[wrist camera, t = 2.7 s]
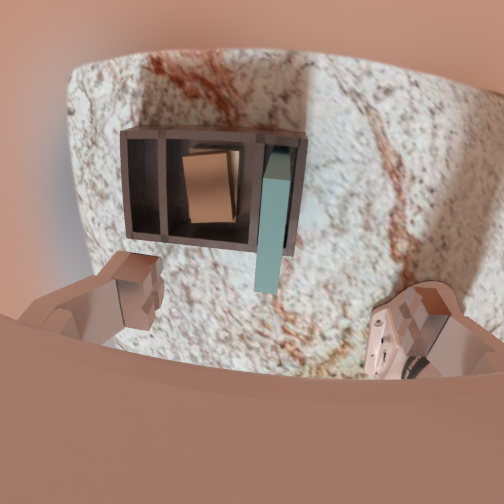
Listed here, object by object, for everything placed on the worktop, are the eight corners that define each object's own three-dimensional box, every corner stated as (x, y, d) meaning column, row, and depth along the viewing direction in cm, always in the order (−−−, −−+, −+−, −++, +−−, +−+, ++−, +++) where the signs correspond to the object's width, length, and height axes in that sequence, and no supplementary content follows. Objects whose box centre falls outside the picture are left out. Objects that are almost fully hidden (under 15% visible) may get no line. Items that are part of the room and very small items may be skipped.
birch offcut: (238, 215, 42) (235, 222, 39) (194, 211, 42) (188, 218, 40) (242, 148, 37) (239, 151, 35) (195, 145, 38) (189, 148, 36)
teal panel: (281, 223, 42) (276, 293, 27) (266, 222, 42) (253, 291, 28) (289, 148, 37) (290, 180, 23) (273, 146, 37) (263, 177, 23)
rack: (293, 234, 44) (293, 256, 38) (142, 219, 45) (123, 237, 39) (305, 133, 37) (308, 139, 31) (139, 125, 39) (116, 131, 33)
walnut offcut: (236, 214, 39) (232, 221, 37) (197, 215, 40) (191, 223, 37) (230, 149, 35) (225, 153, 33) (188, 153, 36) (182, 157, 34)
